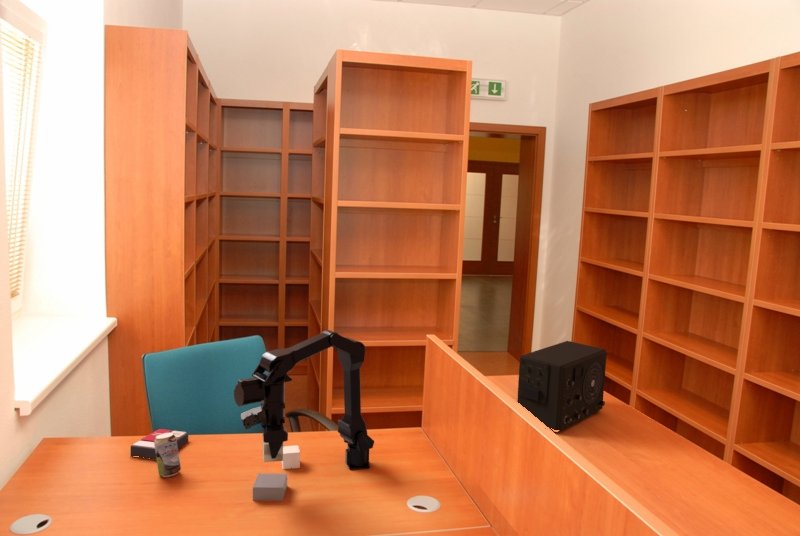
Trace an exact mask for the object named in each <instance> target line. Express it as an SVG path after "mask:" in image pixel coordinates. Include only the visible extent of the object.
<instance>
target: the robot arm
mask: <svg viewBox="0 0 800 536" xmlns="http://www.w3.org/2000/svg"><path fill="white" fill-rule="evenodd" d="M329 348H334V349H336V352H337V356H338V357H337V358H338V360H339V362H340V365H341V366H342V371H343V399H344V400H343V401H344V404H343V405H344V415H343V416H342V418H341V419H338V420H337V424H338V429H337V433H339V437H341V438H342V439H343V442H344V443H346V444H347V448H345V454H344V455H345V457H344V458H345V464H346V466H348V469H349V470H359V469H360V470H361V469H369V468H371V464H370V450H371V449H373V448H374V445H375V440H374V439H373V438H372V437H371V436H370V435H368V429H367V424H366V421H365V419H364V417H363V415H362V408H361V407H362V399H361V397H362V396H361V395H362V394H361V368H362V366H363V364H364V362H365V356H366V345H365V344H364V343H363V342H361V341H359V340H357V339H356V340H355V339H353V338H350V337H347V336H345V337H344V336H342V335H340V334H339V333H338V332H336V331H333V330H332V329H331V330H330V329H326V330H323V331H322V332H321V333H318V334H317V335H314V336H312V337H310V338H308V339H306V340H303V341H301V342H299V343H296V344H295V345H293V346H290V347H287V348H285V347H284V348H276V349H273V350H268V351H266V352H264V353H263V354H262V355H261V358H260V360H259V362H258V365H257V366H256V367H255V369H254V370H253V372H252V373H251V377H250V378H241V379H238V380H237V384H236V385H235V387H234V389H233V399H234V402H235V404H236V405H237V406H238V407H245V406H249V405H254V404H260V406H256V407H253V408H251V409H248V410H246V411H244V412H241V413H240V419H241V422H242V425H243V428H244V429H245V430H248V429H251V428H252V427H255V426H256V425H260V427H261V428H262V429H263V430H262V443H263V442H265V443H269V448H270V453H271V458H272V459H273V458H276V456H277V454H278V452H279V450H280V448H281V446H282V444H283V445H284V443H285V442H287V441H288V440H289V433H288V428H287V427H286V426H285V425H284V424H285V423H286V419H285V409H286V403H285V393H286V391H285V389H286V388H285V385H286V384H285V383H289V382H292V381H293V378H292V377H290V376H289V375H288V373H289V372H291V371H292V370H293V369H294V367H295V366H296V365H297V364H298V363H300V362H301V361H304V360H306V359H308V358H310V357H312V356H314V355H317V354H319V353H321V352H323V351H325V350H327V349H329ZM265 373H267V374H268V375H267V374H265Z"/></svg>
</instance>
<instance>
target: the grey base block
mask: <svg viewBox="0 0 800 536" xmlns="http://www.w3.org/2000/svg"><path fill="white" fill-rule="evenodd" d="M287 489H288V473H265V472H264V473H262V472H261V473H259V472H258V474H257V476H256V478H255V481H254V483H253V486H252V501H268V502H269V501H273V502H274V501H275V502H276V501H278V502H283V501H284V498H285V495H286V491H287Z"/></svg>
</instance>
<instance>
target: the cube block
mask: <svg viewBox="0 0 800 536" xmlns="http://www.w3.org/2000/svg"><path fill="white" fill-rule="evenodd" d="M283 447H284V443H283V444H282V446H281V448H280V450H279V452H278V454H277V456H276V458H273V459H272V458H271V453H270V448H269V443H265V442H263V441H262V457H263V463H271V462H272V463H274V462H281V461H283Z"/></svg>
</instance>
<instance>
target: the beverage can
mask: <svg viewBox="0 0 800 536" xmlns="http://www.w3.org/2000/svg"><path fill="white" fill-rule="evenodd" d="M154 445H155V452H156V459H157V460H156V463H157V470H158V475H159V476H161V477H162V478H170V477H173V476H175V475H177V474H179V472H180V471H181V469H182V467H181V461H180V460H181V459H180V454H179V449H178V446H177V439H176V436H175V435H174V433H172V432H168V433H163V434H160V435H158V436H156V439H155V441H154Z"/></svg>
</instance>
